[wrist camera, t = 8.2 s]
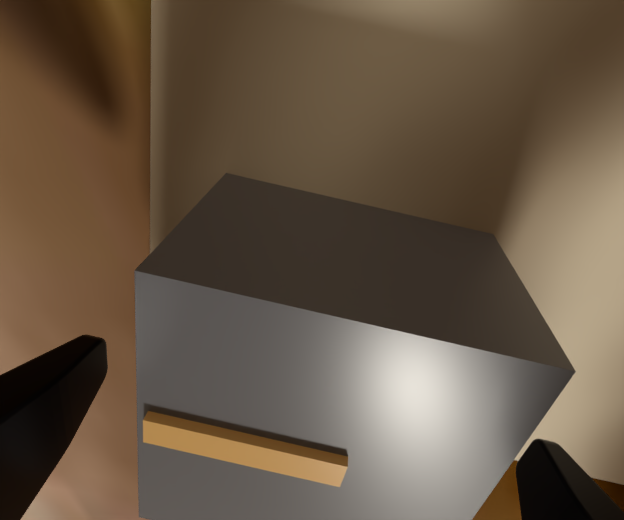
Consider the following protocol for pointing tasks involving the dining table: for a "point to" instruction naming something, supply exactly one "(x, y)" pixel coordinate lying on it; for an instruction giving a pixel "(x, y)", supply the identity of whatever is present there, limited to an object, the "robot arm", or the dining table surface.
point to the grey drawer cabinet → (331, 362)
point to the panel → (425, 145)
